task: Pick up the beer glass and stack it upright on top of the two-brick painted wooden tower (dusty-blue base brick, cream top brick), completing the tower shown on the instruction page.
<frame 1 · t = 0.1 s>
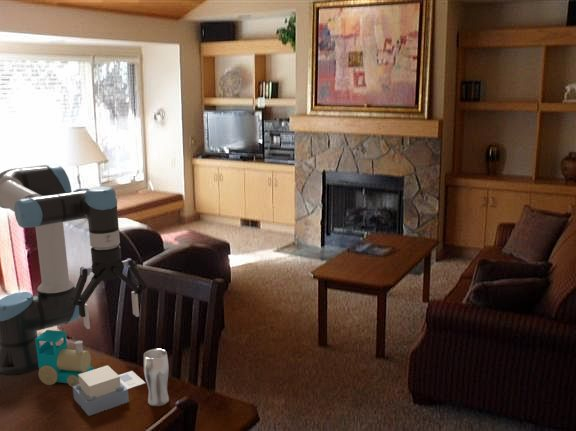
hand: (112, 321, 168), 28 cm above the table, fingers open, 13 cm apart
toy train: (70, 381, 194), on the table
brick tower: (101, 400, 182), on the table
instruction page: (128, 380, 193), on the table
beer glass: (158, 401, 181), on the table
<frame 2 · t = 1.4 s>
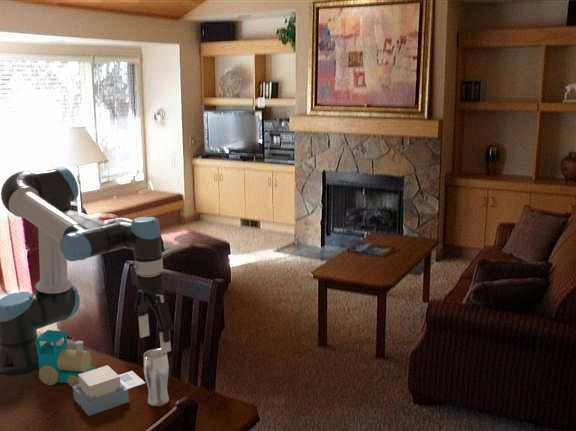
hand: (155, 344, 177), 18 cm above the table, fingers open, 13 cm apart
nothing on the table moved.
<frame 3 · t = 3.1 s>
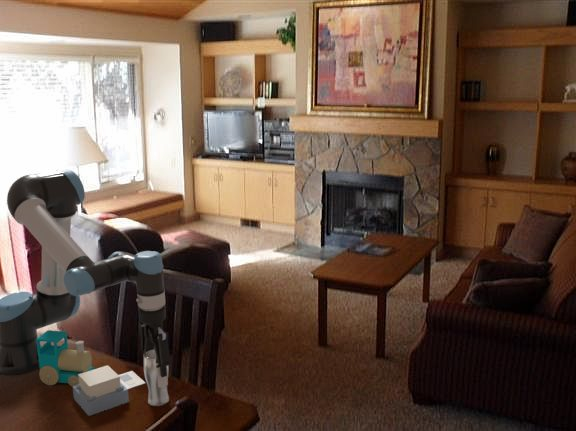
hand: (157, 380, 179), 7 cm above the table, fingers closed on beer glass, 7 cm apart
beer glass: (158, 401, 181), on the table, touching gripper
everything else where it was.
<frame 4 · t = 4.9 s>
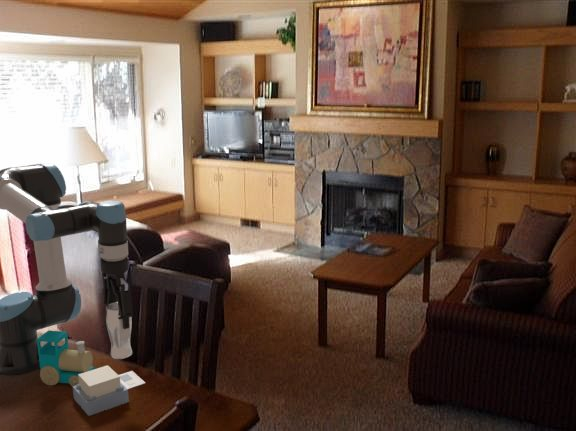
hand: (119, 333, 177), 21 cm above the table, fingers closed on beer glass, 7 cm apart
beer glass: (121, 354, 179), point 14 cm above the table, touching gripper
everything else where it was.
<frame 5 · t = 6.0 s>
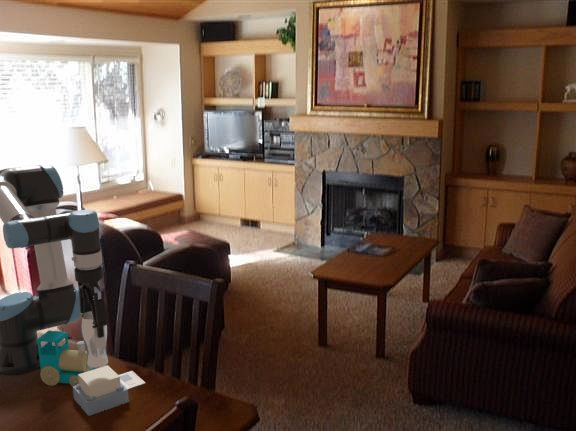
hand: (95, 342, 177), 18 cm above the table, fingers closed on beer glass, 7 cm apart
beer glass: (97, 363, 179), point 12 cm above the table, touching gripper
everything else where it was.
when the fingers open (15 cm above the table, at t = 6.8 s): beer glass stays where it is, resting on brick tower.
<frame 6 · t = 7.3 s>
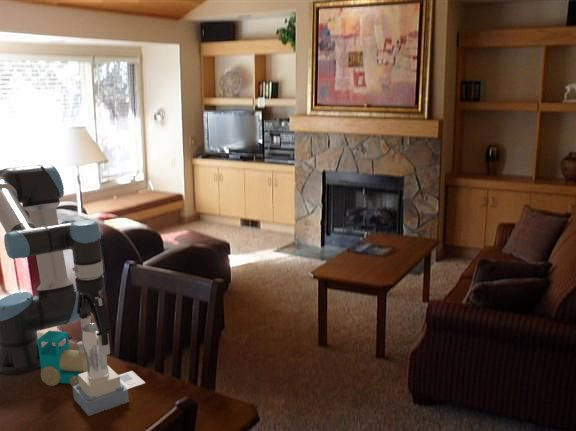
hand: (96, 346, 178), 17 cm above the table, fingers open, 13 cm apart
beer glass: (98, 375, 180), point 8 cm above the table, touching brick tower
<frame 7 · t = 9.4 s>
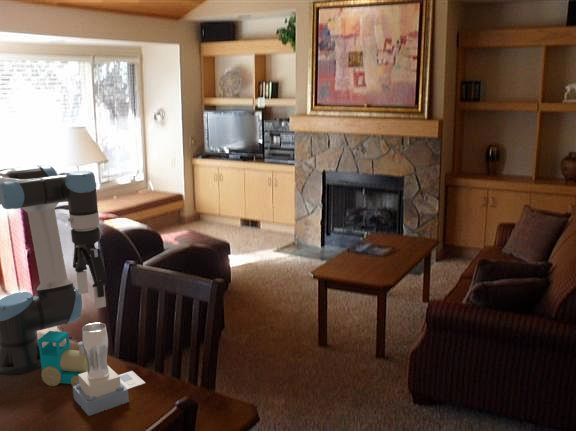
hand: (91, 300, 176), 31 cm above the table, fingers open, 13 cm apart
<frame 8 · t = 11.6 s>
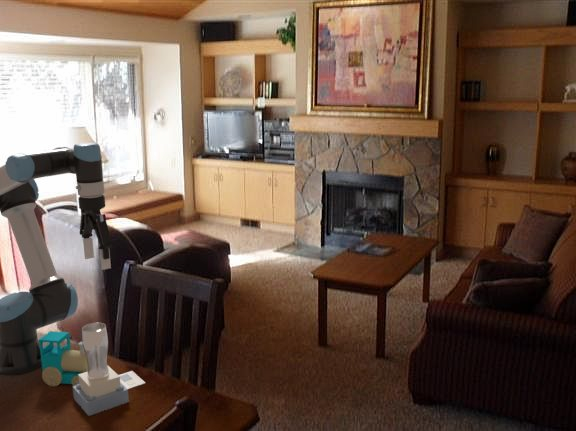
hand: (97, 263, 189), 37 cm above the table, fingers open, 13 cm apart
at the end: beer glass inside the target area on the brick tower (0.3 cm from its centre), point 7.8 cm above the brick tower's base; beer glass tilted 0°; the gripper is holding nothing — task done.
